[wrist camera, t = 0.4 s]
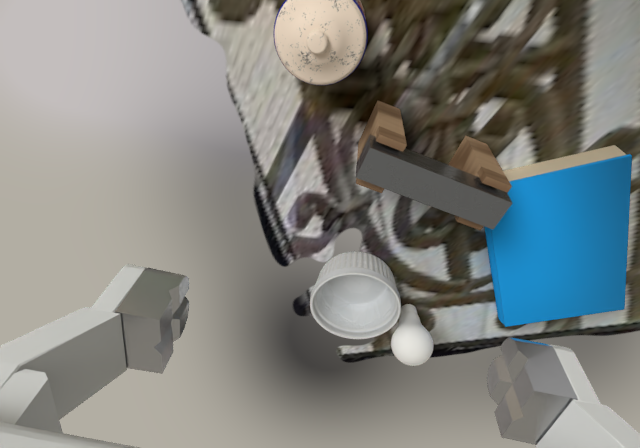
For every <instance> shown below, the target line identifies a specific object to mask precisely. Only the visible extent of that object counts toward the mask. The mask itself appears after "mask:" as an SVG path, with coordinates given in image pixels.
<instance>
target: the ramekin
mask: <svg viewBox="0 0 640 448" xmlns="http://www.w3.org/2000/svg"><path fill="white" fill-rule="evenodd" d="M310 308H311V312H312V315H313V317H314V318H315V320H316V321H317V322H318V323H319V324H320V325H321V326H322V327H323V328H324V329H326V330H327V331H329V332H331V333H333V334H335V335H338V336H340V337H344V338H349V339H366V338H371V337H376V336H378V335H381V334H383V333H385V332H387V331H388V330H389V329H391V328H392V327H393V326H394V325H395V323H396V322H397V320H398V319H399V316H400V313H401V299H400V295H399V292H398V290H397V287H396V283H395V279H394V276H393V274H392V271H391V270H390V268H389V267H388V266H387V264H386V263H384V261H382V260H381V259H380V258H378V257H376V256H374V255H372V254H369V253H365V252H357V251H355V252H346V253H342V254H339V255H337V256H335V257H333V258H332V259H330V260H329V261H328V262H327V263H326V265H324V267H323V268H322V270H321V272H320V274H319V277H318V279H317V282H316V284H315V286H314V288H313V290H312V293H311V298H310Z"/></svg>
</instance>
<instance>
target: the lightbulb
mask: <svg viewBox="0 0 640 448" xmlns="http://www.w3.org/2000/svg"><path fill="white" fill-rule="evenodd" d="M433 346H434V345H433V339H432V337H431V335H430V333H429V332H428V330H427V329H426V328H425V327H424V326H422V324H421V322H420V318H419V316H418V315H417V310H416V307H415V306H413V305H411V304H406V305H404V306H402V307H401V316H400V319H399V326H398V328H397V329H396V330H395V332H394V334H393V336H392V340H391V347H392V351H393V353H394V355H395V356H396V358H397V359H398V360H399V361H401V362H402V363H404V364H406V365H410V366H417V365H421V364H423V363H424V362H426V361H427V360H428V359H429V358H430V356H431V354H432V352H433Z"/></svg>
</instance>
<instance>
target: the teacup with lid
mask: <svg viewBox="0 0 640 448" xmlns="http://www.w3.org/2000/svg"><path fill="white" fill-rule="evenodd" d="M367 40H368V30H367V23H366V18H365V12H364V9H363V6H362V4H361V2H360V0H285V2H284V3H283V4H282V6H281V7H280V9H279V11H278V14H277V17H276V20H275V25H274V43H275V48H276V51H277V54H278V56H279V58H280V60H281V62H282V64H283V65H284V66H285V68H286V69H287V70H288V71H289V72H290V73H291V74H292V75H294V76H295V77H296V78H298V79H299V80H301V81H303V82H306V83H309V84H313V85H330V84H334V83H337V82H339V81H341V80H343V79H345V78H346V77H348V76H349V75H350V74H351V73H352V72H353V71H354V70H355V69H356V68H357V67H358V65H359V64H360V62H361V60H362V58H363V56H364V54H365V51H366V47H367Z"/></svg>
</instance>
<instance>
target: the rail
mask: <svg viewBox="0 0 640 448" xmlns="http://www.w3.org/2000/svg"><path fill="white" fill-rule="evenodd" d="M356 178H358V179H361V180H363V181H366V182H369V183H371V184H374V185H376V186H379V187H382V188H384V189H387V190H390V191H392V192H395V193H398V194H400V195H403V196H406V197H408V198H411V199H413V200H416V201H419V202H421V203H424V204H427V205H429V206H432V207H435V208H437V209H440V210H442V211H445V212H448V213H450V214H453V215H456V216H458V217H461V218H464V219H466V220H469V221H472V222H474V223H477V224H479V225H482V226H485V227H487V228H490V229H494V228H495V227H496V225H497V224H498V222H499V221H500V220H501V218H502V217H503V216H504V214H505V213H506V212H507V210H508V209H509V207H510V206H511V205H512V201H511V199H510V197H509V196H508V194H507V192H504V191H502V190H499V189H497V188H494V187H492V186H489V185H487V184H484V183H482V182H481V180H480V177H477V176H475V175H472V174H470V173H467V172H465V171H462V170H460V169H457V168H454V167H452V166H449V165H447V164H444V163H442V162H439V161H437V160H434V159H432V158H429V157H426V156H424V155H421V154H419V153H416V152H414V151H411V150H409V149H406V148H405V149H404V151H403V152H402V151H400V150H397V149H394V148H392V147H389V146H387V145H384V144H382V143H379V142H377V141H376V137H375V136H373V135H369V137H368V140H367V142H366V144H365V146H364V148H363V150H362V153H361V155H360V157H359V159H358V161H357V167H356Z"/></svg>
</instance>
